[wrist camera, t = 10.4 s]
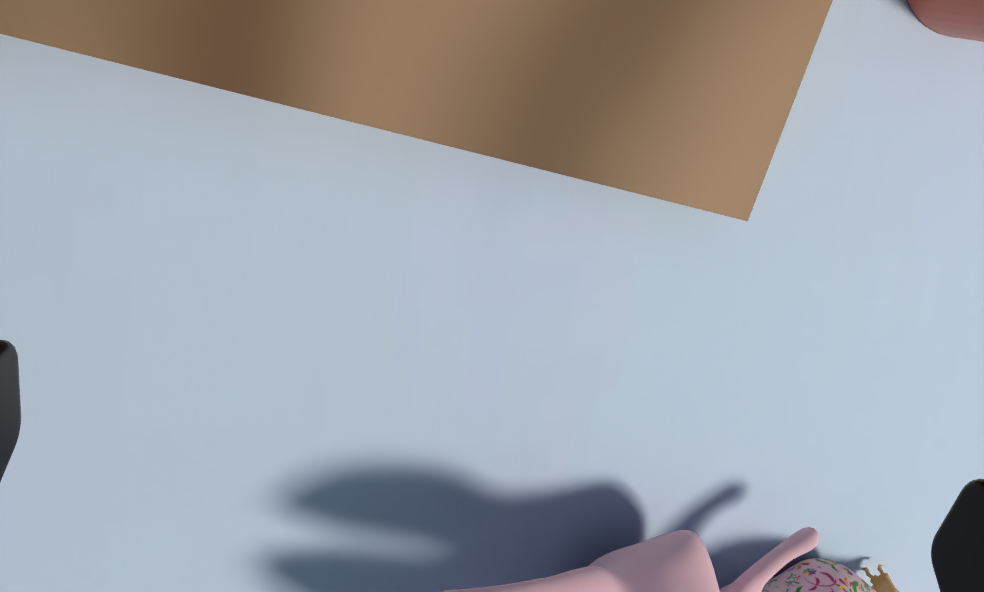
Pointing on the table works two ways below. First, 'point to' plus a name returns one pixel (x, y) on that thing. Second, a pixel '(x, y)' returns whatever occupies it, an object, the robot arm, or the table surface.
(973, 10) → the red plug
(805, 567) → the rabbit figure
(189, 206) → the table surface
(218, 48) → the walnut board
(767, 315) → the table surface
